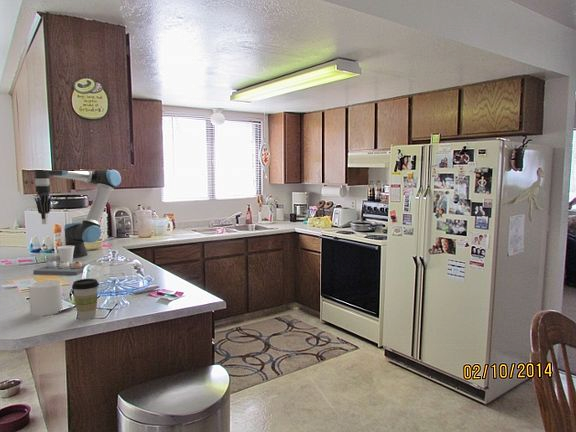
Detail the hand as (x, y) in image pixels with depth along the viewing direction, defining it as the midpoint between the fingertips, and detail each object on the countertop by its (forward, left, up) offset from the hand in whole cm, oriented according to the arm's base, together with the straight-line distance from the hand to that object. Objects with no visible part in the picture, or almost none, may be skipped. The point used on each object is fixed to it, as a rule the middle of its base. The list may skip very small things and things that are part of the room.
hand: (45, 224), depth 255 cm
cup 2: (-7, +8, -27) cm, 29 cm away
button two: (+10, +18, -26) cm, 33 cm away
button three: (+10, +26, -26) cm, 38 cm away
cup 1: (+78, +55, -27) cm, 99 cm away
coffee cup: (+83, +76, -27) cm, 116 cm away
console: (+10, +18, -26) cm, 33 cm away
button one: (+10, +10, -26) cm, 30 cm away
